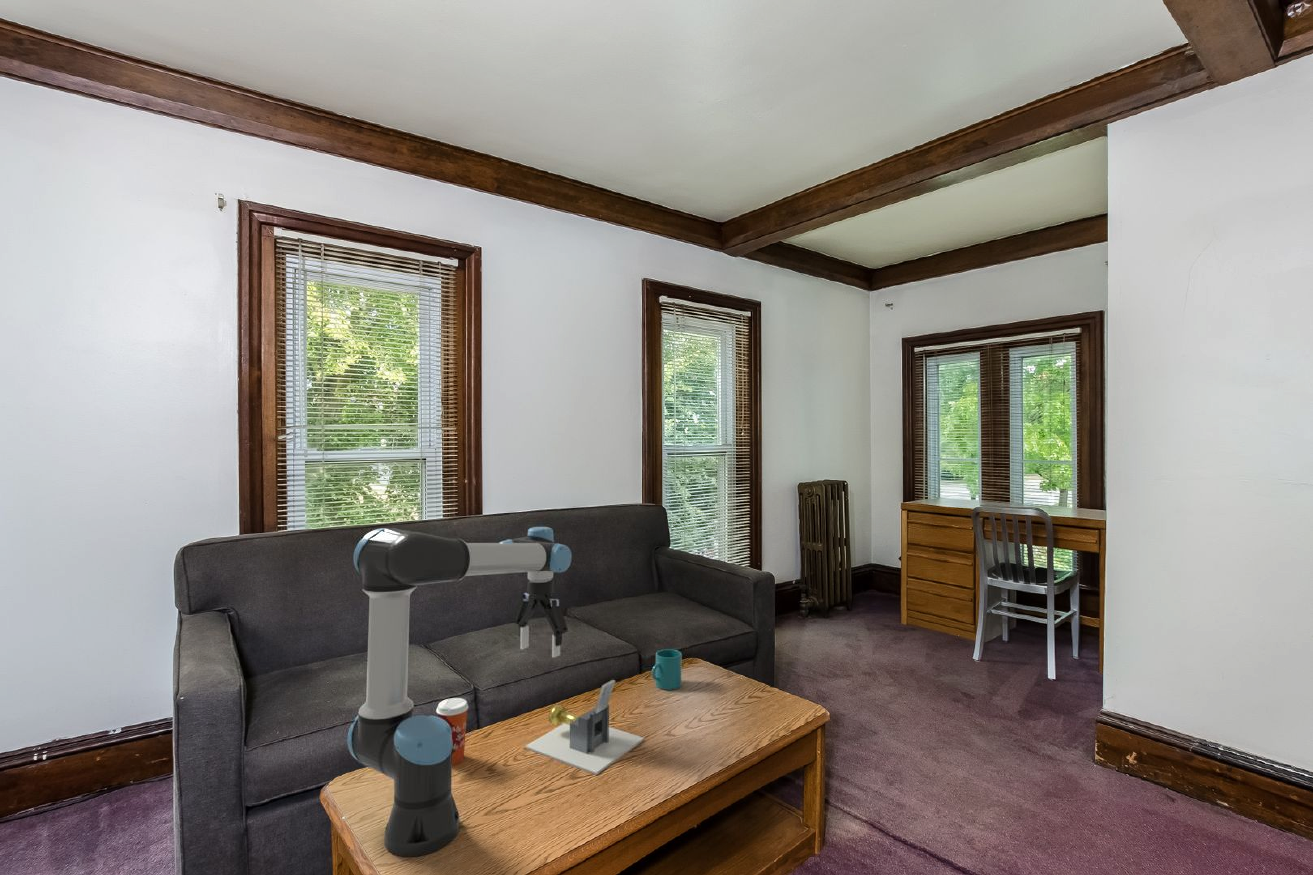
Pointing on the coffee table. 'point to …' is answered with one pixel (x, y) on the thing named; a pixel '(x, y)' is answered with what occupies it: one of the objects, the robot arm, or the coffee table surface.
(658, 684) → the cup
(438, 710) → the coffee cup
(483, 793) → the coffee table surface
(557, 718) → the pin
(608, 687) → the grey flat brushed plate
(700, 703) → the coffee table surface
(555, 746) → the mat
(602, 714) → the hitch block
